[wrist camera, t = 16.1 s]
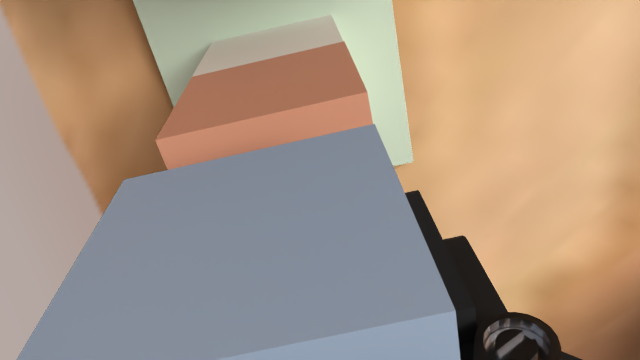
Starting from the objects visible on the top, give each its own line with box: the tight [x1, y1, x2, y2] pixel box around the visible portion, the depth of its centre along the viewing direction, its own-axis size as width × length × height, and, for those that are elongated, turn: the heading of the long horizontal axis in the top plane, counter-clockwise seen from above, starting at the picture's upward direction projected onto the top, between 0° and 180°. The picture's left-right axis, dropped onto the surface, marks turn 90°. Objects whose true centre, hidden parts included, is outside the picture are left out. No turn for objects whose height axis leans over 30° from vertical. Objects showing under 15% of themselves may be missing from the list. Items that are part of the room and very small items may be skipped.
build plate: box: [133, 0, 413, 166], centre depth 26 cm, size 12×12×1 cm
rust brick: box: [155, 41, 373, 170], centre depth 17 cm, size 6×6×6 cm
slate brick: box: [17, 124, 461, 360], centre depth 10 cm, size 6×6×6 cm
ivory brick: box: [191, 14, 343, 78], centre depth 23 cm, size 6×6×6 cm
